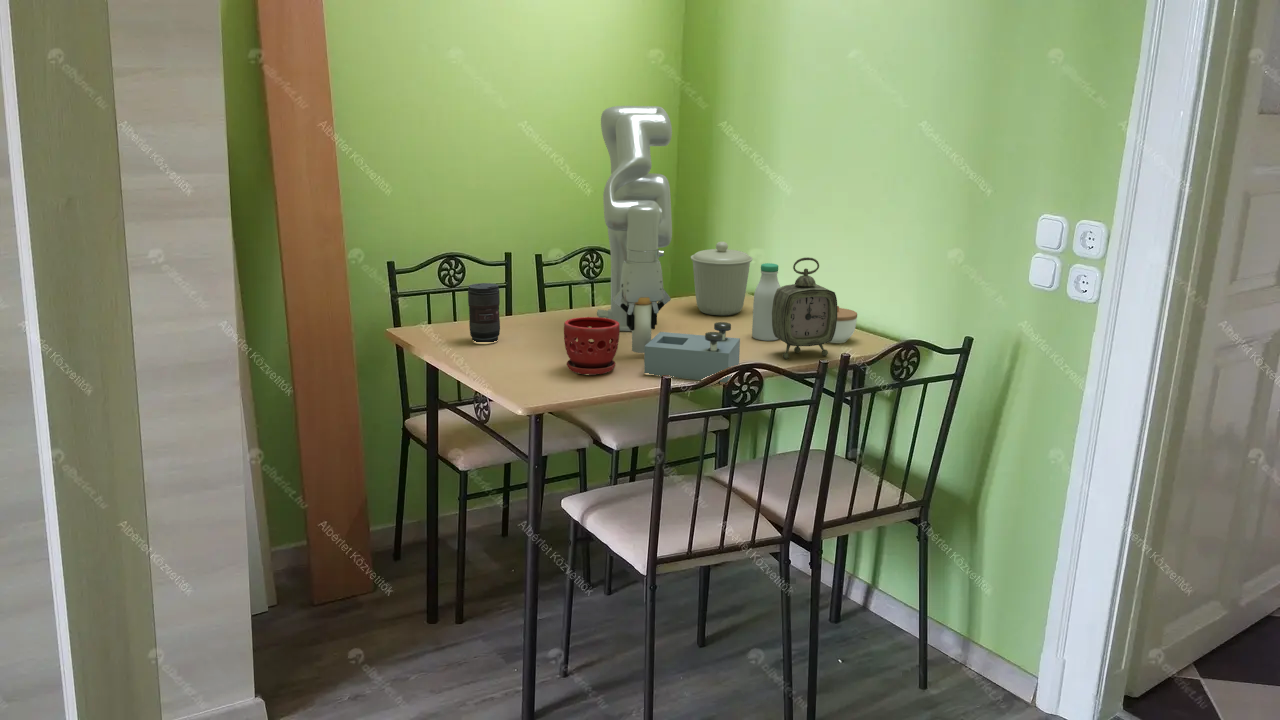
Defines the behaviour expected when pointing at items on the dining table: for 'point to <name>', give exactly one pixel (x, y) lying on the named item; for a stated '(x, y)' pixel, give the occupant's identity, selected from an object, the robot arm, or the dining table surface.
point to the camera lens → (484, 312)
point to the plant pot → (591, 344)
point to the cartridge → (641, 324)
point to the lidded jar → (844, 325)
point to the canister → (720, 279)
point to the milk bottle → (765, 303)
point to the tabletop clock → (804, 312)
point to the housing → (689, 356)
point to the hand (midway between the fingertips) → (641, 327)
